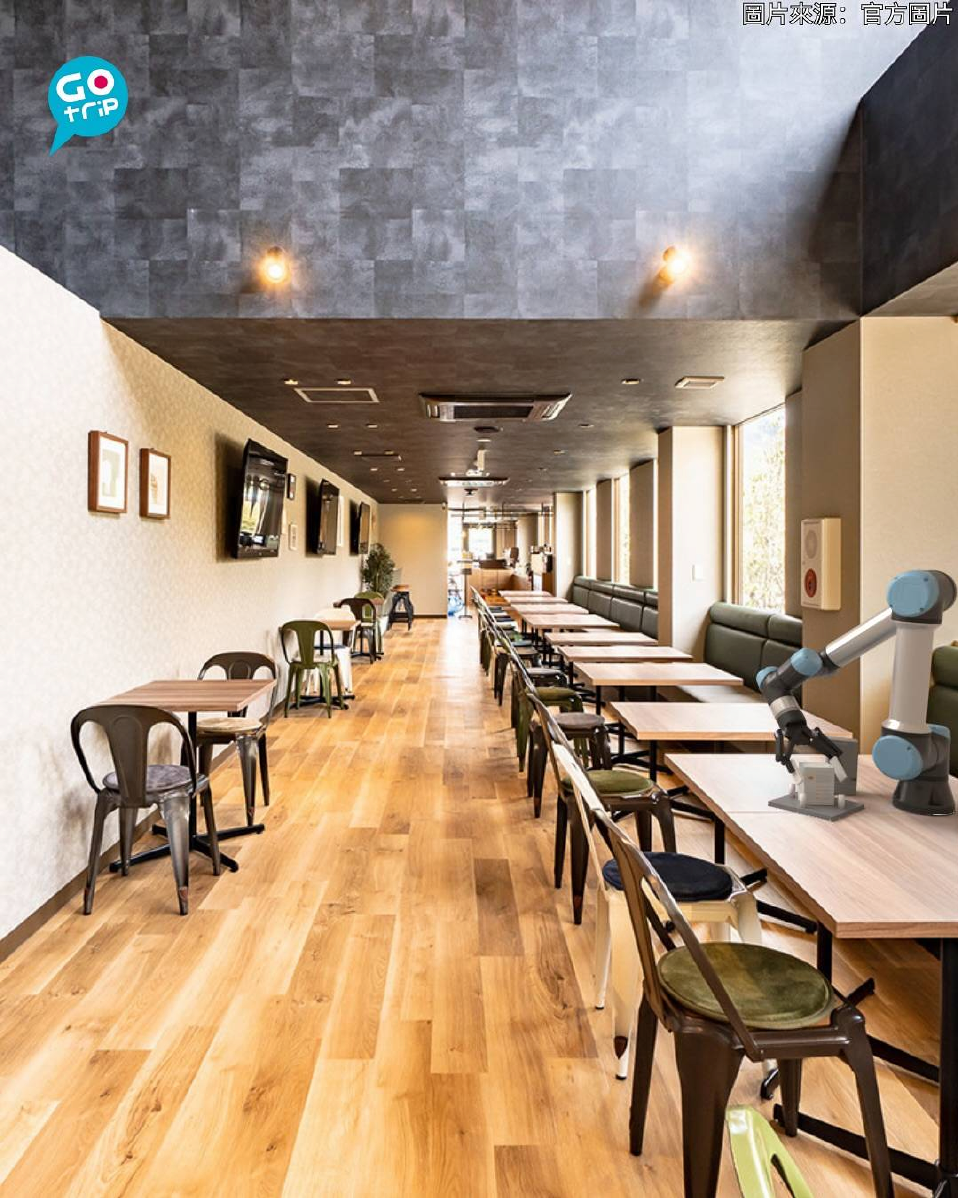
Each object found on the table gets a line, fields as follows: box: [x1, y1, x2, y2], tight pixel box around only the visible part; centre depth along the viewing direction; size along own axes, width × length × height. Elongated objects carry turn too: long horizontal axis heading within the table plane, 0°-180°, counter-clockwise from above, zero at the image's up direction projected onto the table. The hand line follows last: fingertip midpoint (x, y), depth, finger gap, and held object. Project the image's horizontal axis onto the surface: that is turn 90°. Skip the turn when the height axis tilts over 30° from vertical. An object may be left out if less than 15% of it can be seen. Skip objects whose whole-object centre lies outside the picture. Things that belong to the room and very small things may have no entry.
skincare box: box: [824, 735, 860, 797], centre depth 241 cm, size 8×7×16 cm
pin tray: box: [767, 783, 866, 822], centre depth 226 cm, size 18×18×5 cm
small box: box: [797, 761, 835, 805], centre depth 226 cm, size 8×6×10 cm
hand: (822, 781), depth 223 cm, fingers open, 13 cm apart
